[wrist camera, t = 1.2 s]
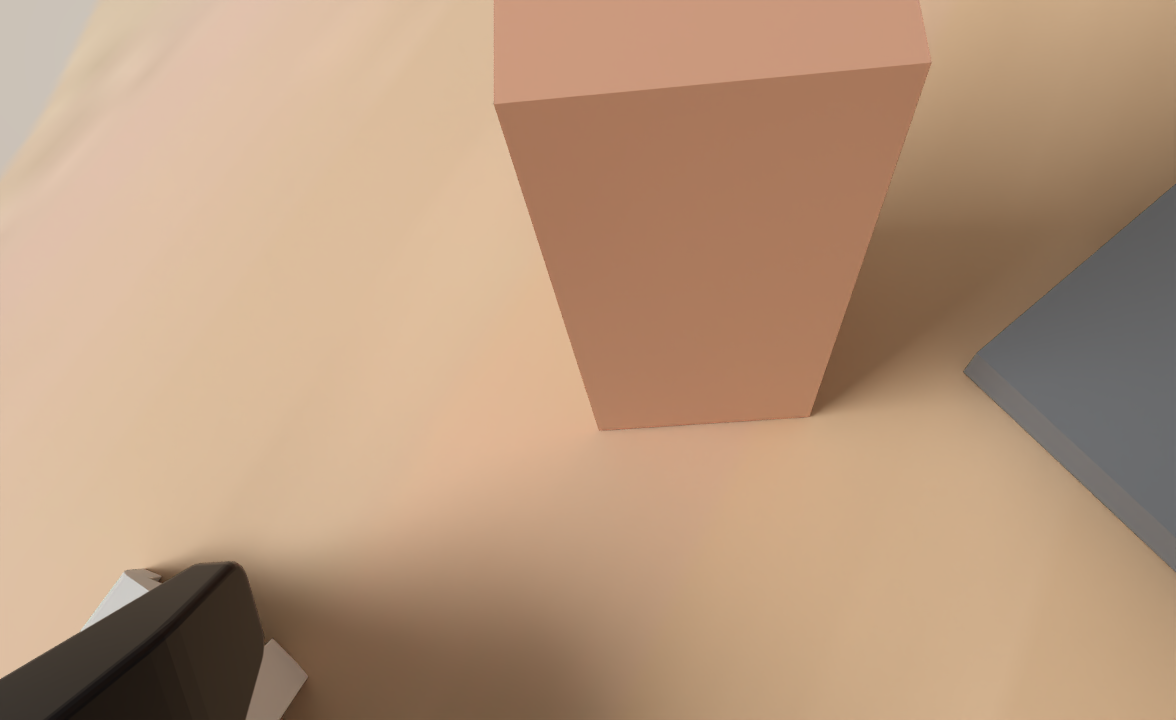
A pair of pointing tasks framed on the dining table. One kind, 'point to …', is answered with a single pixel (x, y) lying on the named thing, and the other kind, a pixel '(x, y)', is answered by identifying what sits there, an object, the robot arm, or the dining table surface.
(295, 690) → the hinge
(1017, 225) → the dining table surface
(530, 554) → the dining table surface
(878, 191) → the terracotta sleeve
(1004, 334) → the charcoal plate
